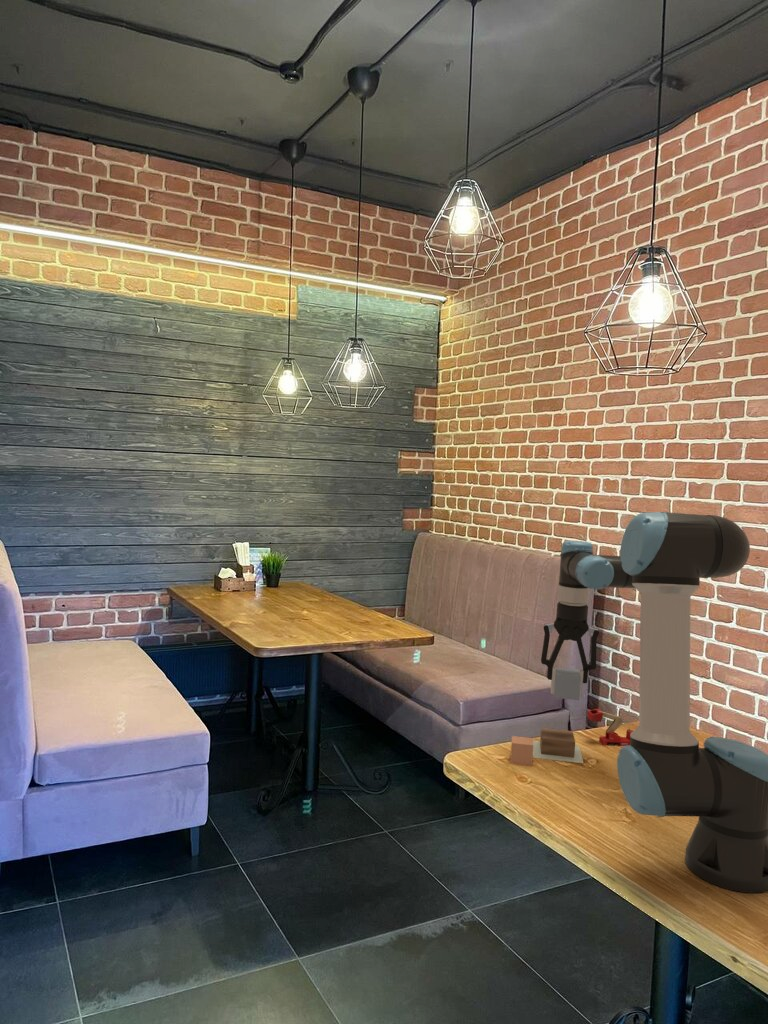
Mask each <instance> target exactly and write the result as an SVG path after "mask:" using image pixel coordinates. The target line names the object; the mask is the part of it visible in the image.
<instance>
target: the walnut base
mask: <svg viewBox="0 0 768 1024" xmlns="http://www.w3.org/2000/svg"><path fill="white" fill-rule="evenodd" d="M539 738H540V739H539V740H540V741H539V742H540V747H541V754H546V755H554V756H563V757H572V758H574V754H575V746H576V739H575V734H574V731H573V730H566V729H565V730H563V729H555V728H546V727H540V737H539Z"/></svg>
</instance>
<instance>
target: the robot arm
mask: <svg viewBox="0 0 768 1024" xmlns="http://www.w3.org/2000/svg"><path fill="white" fill-rule="evenodd" d="M593 548H594V547H593V544H592V542H588V541H582V540H564V541H563V542H562V543H561V549H560V554H559V556H560V564H559V574H558V575H559V576H558V577H559V578H558V589H557V590H558V591H557V600H558V602H557V605H556V616H555V620H554V622H553V623H543V626H542V627H543V631H544V636H543V643H542V648H541V649H542V650H541V656H540V663H541V664H542V665H544V666H546V667H547V672H546V673H547V674H546V678H547V680H550V681H551V682H550V694H551V695H554V687H555V673H556V668H557V666H556V665H554V664H555V663H556V660H557V658H558V656H559V653H560V650H561V648H562V646H563V644H564V642H565V641H570V640H571V641H574V642H576V645H577V648H578V653H579V656H580V661H581V665H582V668H579V669H578V670H579V672H580V676H581V679H580V693H579V698H582V695H583V684H587V683H588V678H589V677H588V676H589V671H591V670H595V669H597V640H598V637H599V634H600V631H599V629H598V628H596V627H594V628H593V627H590V626H589V624H588V616H589V612H588V611H589V606H588V603H589V602H590V600H589V599H590V590H591V589H593V590H602V589H605V588H613V589H614V588H615V589H616V588H617V589H620V588H622V589H636V590H637V591H638V593H639V595H640V625H639V626H640V627H639V628H640V629H639V630H640V631H639V636H640V637H639V641H640V642H639V702H638V703H639V704H638V705H639V707H638V712H639V714H638V718H639V719H638V722H639V723H638V726H637V728H636V729H634V730H633V732H632V733H631V734H630V746H629V745H627V746H621V748H620V749H619V751H618V755H617V762H616V765H617V775H618V781H619V785H620V787H621V790H622V793H623V796H624V799H626V802H627V804H628V805H629V806H630V807H631V809H632V810H633V811H635V812H636V813H637V814H640V815H642V816H643V815H644V816H656V817H658V818H663V817H698V821H697V823H696V825H695V827H694V830H693V832H692V833H691V836H690V838H689V840H688V842H687V844H686V847H685V853H684V856H685V857H684V862H685V864H686V866H687V869H689V870H690V871H691V872H692V873H694V874H695V875H696V876H697V877H699V878H701V879H702V880H703V881H706V882H708V883H711V884H712V885H715V886H717V887H720V888H723V889H726V890H727V889H728V890H731V891H735V892H740V893H748V894H749V893H751V894H753V893H766V892H768V754H767V753H766V752H764V751H763V750H761V749H759V748H757V747H755V746H752V745H751V744H747V743H746V742H742V741H739V740H736V739H731V738H726V737H719V736H710V737H707V738H705V740H704V742H703V748H702V747H699V746H700V741H699V739H698V738H697V737H696V736H695V735H694V734H693V733H692V732H691V730H690V727H691V723H690V722H691V720H690V719H691V718H690V717H691V715H690V714H691V597H692V596H693V594H694V593H695V592H696V591H697V590H698V589H700V584H701V583H700V579H701V578H704V579H705V578H710V579H711V578H712V579H717V578H723V577H724V578H725V577H730V576H732V575H735V574H737V573H738V572H739V571H741V570H742V569H743V568H744V567H745V565H746V564H747V562H748V560H749V558H750V553H751V546H750V541H749V538H748V536H747V534H746V532H745V531H744V530H743V528H741V526H740V525H738V524H737V523H736V522H734V521H732V520H730V519H728V518H726V517H724V516H718V515H715V514H714V515H713V514H693V513H682V512H680V513H679V512H668V511H654V512H651V511H650V512H640V513H639V514H637V515H635V516H634V517H632V519H631V520H630V521H629V523H628V525H627V526H626V527H625V529H624V532H623V535H622V539H621V544H620V551H619V552H620V553H619V555H609V554H608V555H607V554H594V552H593V550H594V549H593ZM553 629H555V631H556V632H557V633H558V636H557V639H556V642H555V645H554V647H553V650H552V652H551V653H550V657H549V659H548V653H549V644H550V638H551V637H550V636H551V635H550V634H551V633H552V632H553ZM587 632H588V635H589V637H590V650H589V651H590V655H589V656H590V657H589V660H590V661H589V662H590V663H588V661H587V657H586V653H585V649H584V645H583V640H582V638H583V636H584V635H585V634H587Z"/></svg>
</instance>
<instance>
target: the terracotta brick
mask: <svg viewBox="0 0 768 1024" xmlns="http://www.w3.org/2000/svg"><path fill="white" fill-rule="evenodd" d="M533 741H534V738H533V737H532V738H531V737H525V736H515V735H512V736H511V747H510V764H513V765H522V766H533Z"/></svg>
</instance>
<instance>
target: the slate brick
mask: <svg viewBox="0 0 768 1024" xmlns="http://www.w3.org/2000/svg"><path fill="white" fill-rule="evenodd" d="M579 670H580V669H575V668H574V669H572V668H564V667H563V668H562V667H556V673H555V687H554V694H553V697H554V699H564V700H572V701H580V697H579V693H580V679H581V676H580V672H579Z"/></svg>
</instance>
